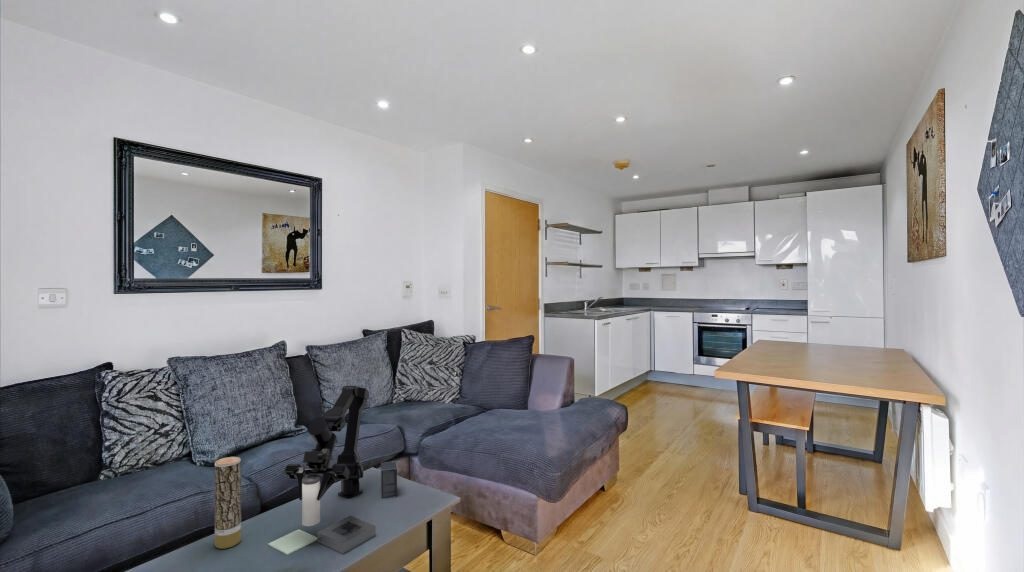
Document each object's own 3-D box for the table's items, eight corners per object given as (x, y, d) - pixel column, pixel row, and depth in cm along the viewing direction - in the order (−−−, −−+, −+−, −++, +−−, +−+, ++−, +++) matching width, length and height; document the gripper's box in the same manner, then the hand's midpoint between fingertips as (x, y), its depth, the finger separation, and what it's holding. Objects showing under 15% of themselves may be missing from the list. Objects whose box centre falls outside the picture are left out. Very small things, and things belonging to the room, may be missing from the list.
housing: (317, 541, 142) (317, 532, 142) (350, 524, 152) (350, 515, 152) (343, 554, 136) (343, 543, 136) (375, 535, 146) (375, 525, 146)
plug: (300, 521, 142) (300, 477, 142) (317, 516, 146) (317, 473, 146) (305, 528, 139) (304, 482, 138) (322, 522, 142) (322, 478, 142)
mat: (268, 545, 141) (268, 543, 141) (298, 530, 149) (298, 529, 149) (287, 555, 135) (287, 553, 135) (318, 539, 144) (318, 538, 144)
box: (380, 490, 178) (380, 462, 178) (396, 488, 180) (395, 460, 180) (381, 499, 171) (381, 469, 171) (397, 496, 173) (397, 468, 173)
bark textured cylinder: (228, 551, 138) (228, 465, 138) (209, 548, 139) (208, 464, 139) (246, 538, 144) (246, 457, 144) (227, 536, 146) (227, 455, 146)
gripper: (286, 438, 146) (267, 489, 135) (346, 438, 146) (332, 489, 135) (298, 454, 154) (281, 503, 143) (355, 454, 154) (342, 503, 143)
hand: (309, 500), depth 141 cm, fingers closed on plug, 5 cm apart
